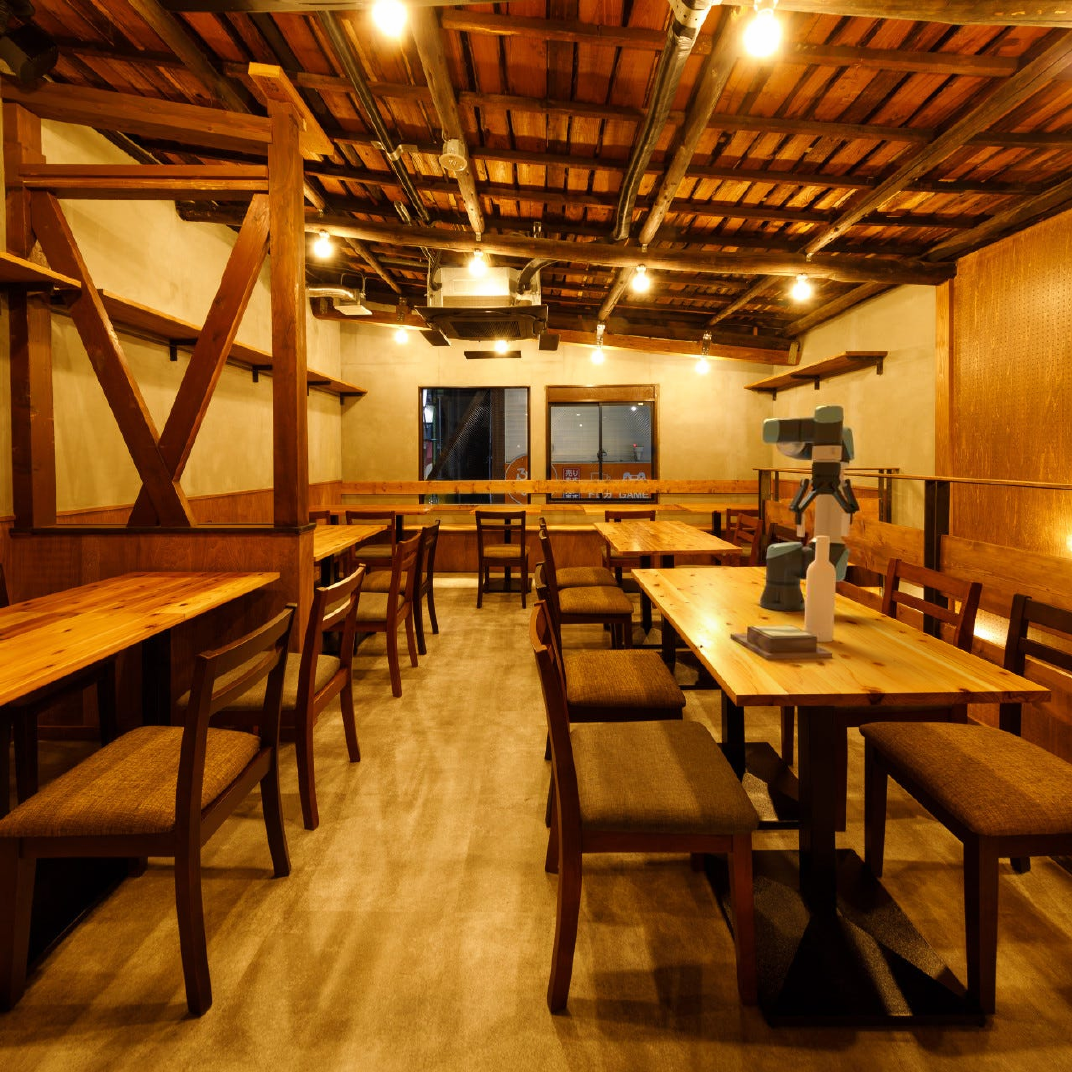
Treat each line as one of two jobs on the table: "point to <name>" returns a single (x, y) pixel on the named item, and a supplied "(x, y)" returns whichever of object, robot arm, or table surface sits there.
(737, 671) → the table surface
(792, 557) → the robot arm
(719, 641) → the table surface
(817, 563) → the bottle
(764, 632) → the stand
